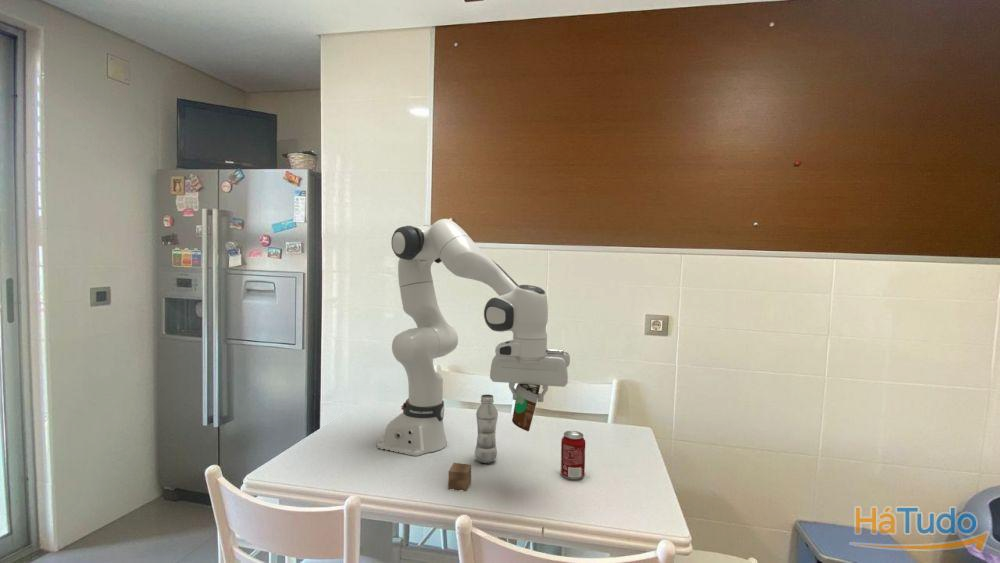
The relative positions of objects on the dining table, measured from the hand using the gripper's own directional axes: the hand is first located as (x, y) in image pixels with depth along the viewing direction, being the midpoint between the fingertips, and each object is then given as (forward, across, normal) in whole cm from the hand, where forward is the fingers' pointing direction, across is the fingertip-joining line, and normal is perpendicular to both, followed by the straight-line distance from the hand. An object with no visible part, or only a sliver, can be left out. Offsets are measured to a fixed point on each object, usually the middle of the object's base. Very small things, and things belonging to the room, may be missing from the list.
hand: (528, 400), depth 117 cm
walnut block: (+25, +18, 0) cm, 30 cm away
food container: (+6, +2, 0) cm, 6 cm away
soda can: (+25, -12, -12) cm, 30 cm away
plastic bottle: (+25, +14, -16) cm, 33 cm away
